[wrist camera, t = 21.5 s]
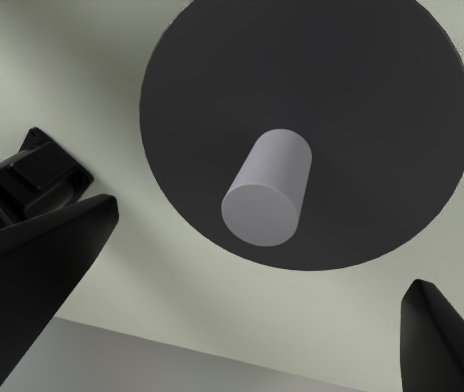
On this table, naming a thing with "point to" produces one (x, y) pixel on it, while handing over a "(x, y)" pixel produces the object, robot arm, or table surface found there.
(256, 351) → the table surface
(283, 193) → the lid
